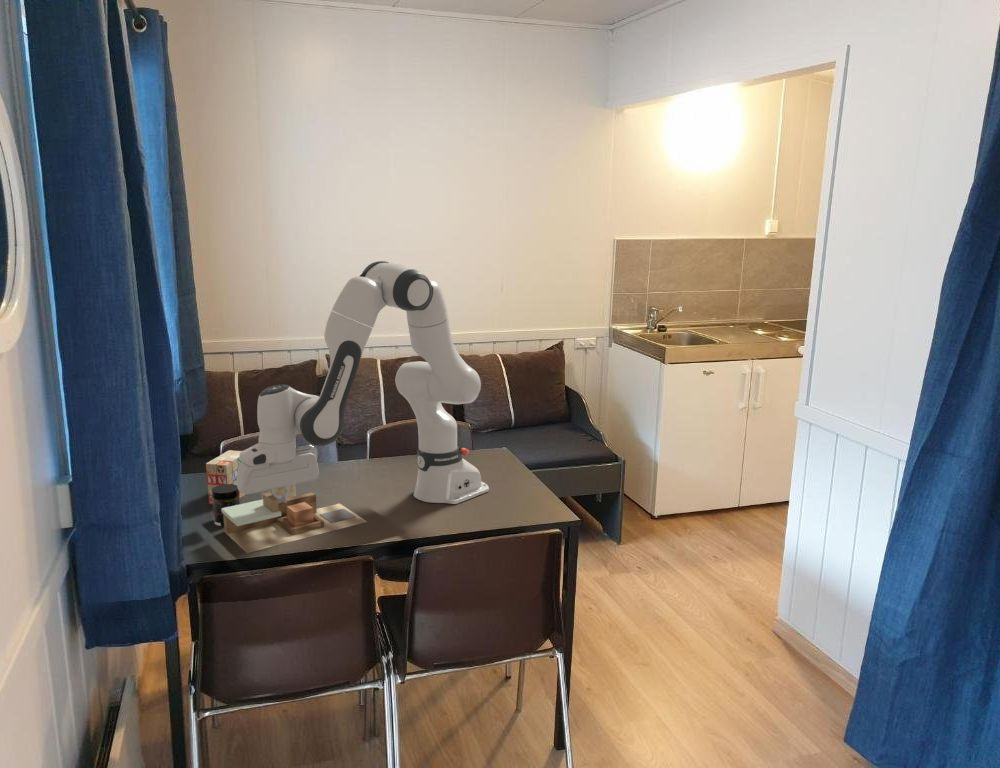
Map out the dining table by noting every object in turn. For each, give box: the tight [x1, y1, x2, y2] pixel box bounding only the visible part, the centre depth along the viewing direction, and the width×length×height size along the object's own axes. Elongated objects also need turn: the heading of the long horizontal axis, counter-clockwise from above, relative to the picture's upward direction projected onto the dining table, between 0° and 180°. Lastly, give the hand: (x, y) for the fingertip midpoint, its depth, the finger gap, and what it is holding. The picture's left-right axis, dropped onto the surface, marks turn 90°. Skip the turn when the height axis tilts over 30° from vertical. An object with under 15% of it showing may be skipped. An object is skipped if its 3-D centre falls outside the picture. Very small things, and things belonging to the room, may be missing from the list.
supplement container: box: [212, 484, 241, 527], centre depth 202 cm, size 7×7×10 cm
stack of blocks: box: [205, 449, 245, 505], centre depth 227 cm, size 21×6×12 cm, turn 169°
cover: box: [221, 493, 281, 526], centre depth 193 cm, size 11×11×4 cm
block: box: [287, 502, 314, 527], centre depth 200 cm, size 5×5×5 cm
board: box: [223, 491, 368, 554], centre depth 200 cm, size 32×16×7 cm, turn 128°
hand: (280, 503), depth 196 cm, fingers closed
